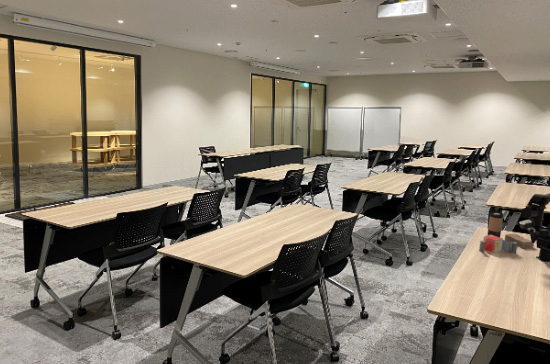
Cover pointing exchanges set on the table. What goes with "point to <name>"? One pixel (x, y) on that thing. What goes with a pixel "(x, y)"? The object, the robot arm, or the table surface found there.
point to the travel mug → (495, 224)
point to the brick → (519, 240)
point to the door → (507, 246)
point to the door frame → (482, 243)
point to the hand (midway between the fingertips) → (532, 242)
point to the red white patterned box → (493, 243)
